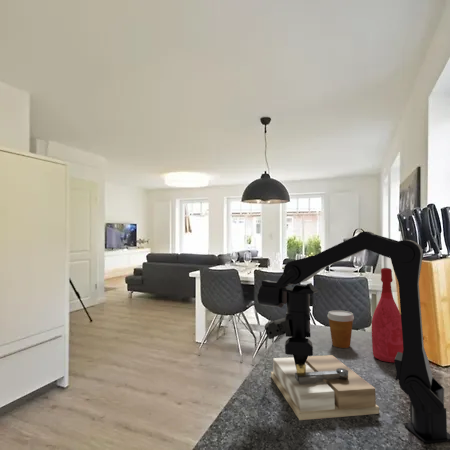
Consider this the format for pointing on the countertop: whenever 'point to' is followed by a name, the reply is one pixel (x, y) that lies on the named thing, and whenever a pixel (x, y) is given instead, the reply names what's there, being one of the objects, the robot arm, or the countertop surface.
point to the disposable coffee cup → (340, 328)
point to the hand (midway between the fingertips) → (299, 371)
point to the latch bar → (321, 373)
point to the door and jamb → (323, 389)
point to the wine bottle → (386, 323)
